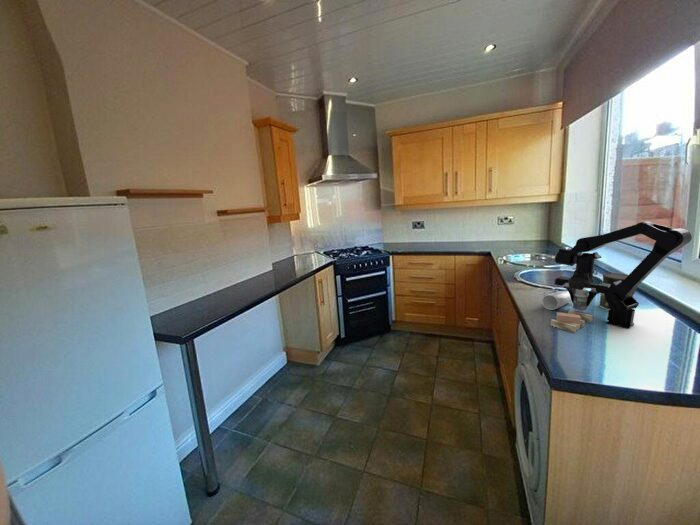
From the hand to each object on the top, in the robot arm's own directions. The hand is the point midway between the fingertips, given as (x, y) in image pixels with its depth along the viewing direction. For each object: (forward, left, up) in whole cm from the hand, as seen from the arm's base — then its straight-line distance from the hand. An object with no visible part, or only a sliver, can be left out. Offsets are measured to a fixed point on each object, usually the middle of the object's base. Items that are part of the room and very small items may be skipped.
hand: (580, 304), depth 126 cm
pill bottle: (0, 0, -2) cm, 2 cm away
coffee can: (-7, -16, -4) cm, 18 cm away
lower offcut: (-3, +19, -4) cm, 20 cm away
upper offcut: (-3, +19, -1) cm, 19 cm away
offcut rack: (-3, +15, -3) cm, 16 cm away
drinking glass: (+8, -9, -1) cm, 12 cm away
